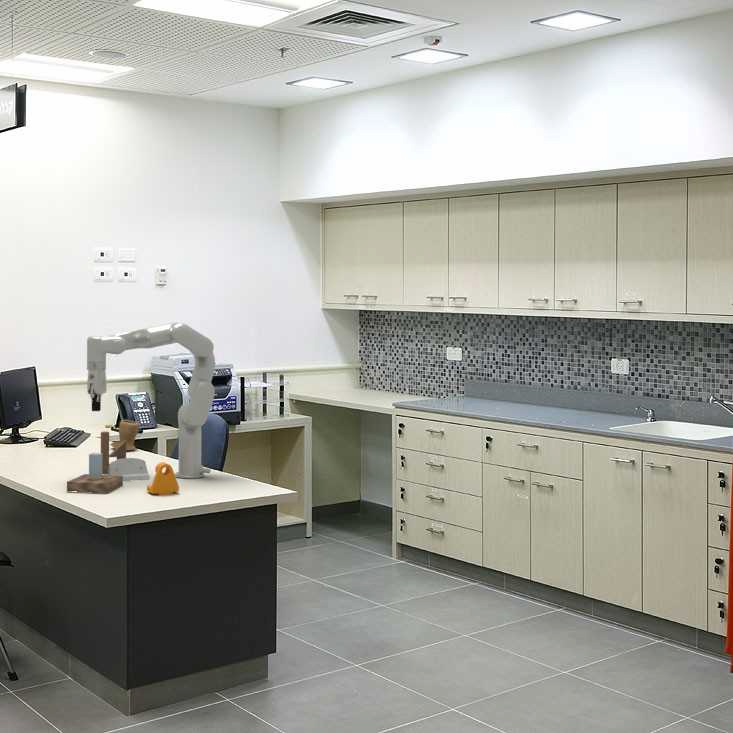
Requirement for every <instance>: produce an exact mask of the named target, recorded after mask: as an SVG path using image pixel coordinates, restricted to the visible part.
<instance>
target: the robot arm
mask: <svg viewBox="0 0 733 733" xmlns="http://www.w3.org/2000/svg"><path fill="white" fill-rule="evenodd" d="M172 344H179V345H180V346H182V347H184V348H185V349H186V350H188V351H189V353H190V354H191V355H192V356H193V357H194V367H193V371H192V375H191V377H190V380H189V383H188V386H187V395H188V396H189V402H185V403H184V404H182V405H180V407H179V409H178V410H177V411H178V412H177V421H178V422H177V423H178V471H177V472H174V474H175V477H176V478H178V477H179V479H200V477H201V478H203V477H205V475H206V474H211V472H212V470H211V468H209V467H208V468H207V467H204V465H203V464H202V435H203V434H202V426H203V425H204V424H205V423H206V422H207V419H208V417H209V414H210V412H211V409H212V405H213V402H214V398H215V387H214V385H213V383H212V380H213V376H214V373H215V369H216V359H215V355H214V349H215V346H214V343H213V341H212V340H211V339H210V338H208V337H207V336H205V335H204V334H202V333H201V332H199V331H197V330H196V329H194V328H192V327H191V326H189V325H188V324H187V323H183V322H172V323H166V324H161V325H155V326H151V327H146V328H141V329H136V330H131V331H127V332H122V333H117V334H112V335H109V336H106V337H105V336H99V335H92V336H88V337H87V339H86V370H87V380H86V381H87V383H86V384H87V387H86V390H87V394H88V395H89V397H90V399H91V412H100V411H101V410H102V409H101V406H102V405H101V403H102V402H101V401H102V396H103V395H105V394H106V393H107V389H108V388H107V387H108V386H107V373H106V372H107V354H110V355H120V354H122V353H124V352H125V351H129V350H137V349H153V348H157V347H162V346H167V345H172Z"/></svg>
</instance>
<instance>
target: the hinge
mask: <svg viewBox="0 0 733 733" xmlns="http://www.w3.org/2000/svg"><path fill="white" fill-rule="evenodd" d="M107 475H116V476H123V482H129V481H128V480H133V481H141V480H140V479H147V480H150V475H149V471H148V468H147V464H146V461H145V460H144V459H141V458H135V457H126V458H123V459H119V460H117V459H115V460H113V461H111V462H109V471H108V474H107Z"/></svg>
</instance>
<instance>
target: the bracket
mask: <svg viewBox="0 0 733 733" xmlns="http://www.w3.org/2000/svg"><path fill="white" fill-rule="evenodd" d="M164 468H165V470H164ZM154 470H155V475H154V478H153V480H152V483H151V485H147V486H146V492H148V493H150V494H152V495H153V494H156V495H158V496H164V495H165V496H166V495H173V493H177V492H180V486H179V483H178V480H177V477H175V472H174V469H173V467H172V466H171V465H170V464H168V463H166V462H158V463H157V464H156V466H155V468H154ZM163 470H164V472H163Z"/></svg>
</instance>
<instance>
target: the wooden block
mask: <svg viewBox="0 0 733 733" xmlns="http://www.w3.org/2000/svg"><path fill="white" fill-rule="evenodd" d="M100 453H102V475H108V471H109V464H110V458H116V460H119V459H123V458H127V451H126V440H124V441H123V442H122V443H121V444H120V445H119V446H118V447H117V448H114V450H112V452H111V453H110V432H109V431H106V430H105V431H101V432H100Z"/></svg>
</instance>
